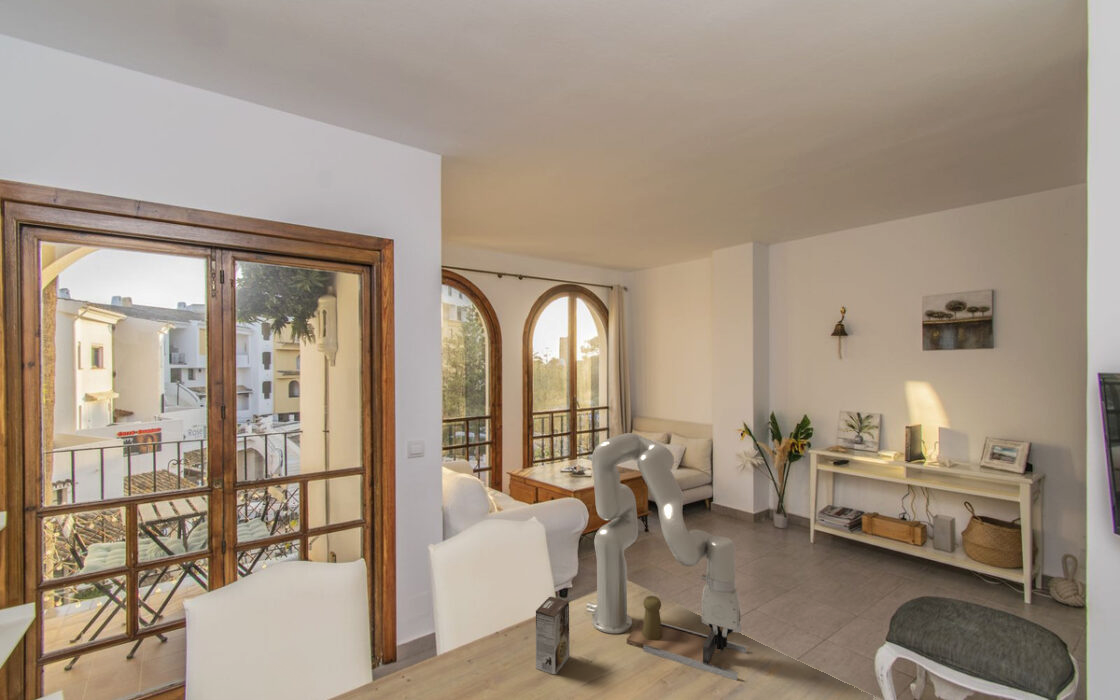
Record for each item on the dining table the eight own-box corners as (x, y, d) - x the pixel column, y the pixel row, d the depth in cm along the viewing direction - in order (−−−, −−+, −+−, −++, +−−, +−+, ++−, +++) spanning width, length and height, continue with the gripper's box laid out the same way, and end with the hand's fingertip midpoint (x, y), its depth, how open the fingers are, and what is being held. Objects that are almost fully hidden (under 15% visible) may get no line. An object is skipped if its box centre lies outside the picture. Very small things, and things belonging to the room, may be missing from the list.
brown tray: (626, 643, 150) (626, 624, 150) (641, 624, 160) (641, 606, 160) (708, 668, 138) (708, 647, 138) (718, 645, 148) (718, 626, 148)
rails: (643, 651, 146) (643, 645, 146) (659, 627, 159) (659, 622, 159) (736, 680, 133) (736, 674, 133) (746, 651, 146) (746, 646, 146)
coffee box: (550, 651, 146) (549, 595, 146) (570, 657, 143) (570, 600, 143) (534, 669, 138) (534, 610, 138) (555, 675, 135) (555, 615, 135)
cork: (662, 641, 149) (662, 604, 149) (641, 639, 150) (641, 602, 150) (662, 630, 155) (662, 594, 155) (642, 628, 156) (642, 592, 156)
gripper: (690, 582, 143) (691, 646, 143) (746, 594, 135) (746, 663, 135) (697, 571, 149) (697, 634, 149) (751, 583, 142) (751, 648, 142)
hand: (721, 647), depth 142 cm, fingers closed
